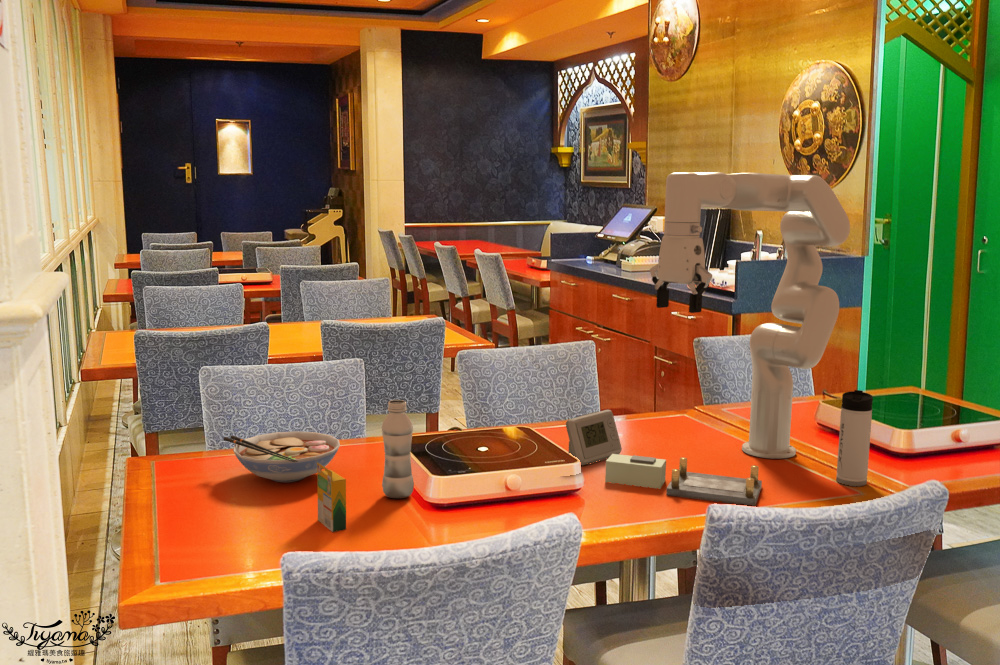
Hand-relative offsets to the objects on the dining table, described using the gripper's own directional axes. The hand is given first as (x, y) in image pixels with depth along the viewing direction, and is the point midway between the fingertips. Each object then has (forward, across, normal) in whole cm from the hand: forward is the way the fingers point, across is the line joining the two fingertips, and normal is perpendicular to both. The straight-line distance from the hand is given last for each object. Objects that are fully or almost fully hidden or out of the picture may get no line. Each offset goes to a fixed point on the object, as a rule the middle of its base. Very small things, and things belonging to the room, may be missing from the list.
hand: (678, 309), depth 198 cm
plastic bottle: (+38, +21, +58) cm, 72 cm away
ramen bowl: (+38, +45, +72) cm, 93 cm away
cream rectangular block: (+38, +1, +10) cm, 39 cm away
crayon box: (+38, +13, +76) cm, 86 cm away
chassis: (+37, -13, +1) cm, 39 cm away
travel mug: (+37, -26, -29) cm, 54 cm away
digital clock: (+38, +19, +6) cm, 43 cm away
